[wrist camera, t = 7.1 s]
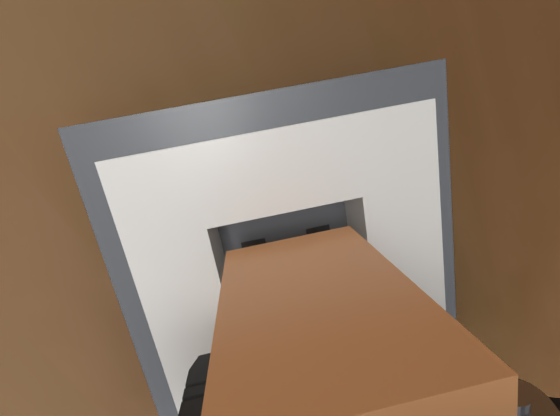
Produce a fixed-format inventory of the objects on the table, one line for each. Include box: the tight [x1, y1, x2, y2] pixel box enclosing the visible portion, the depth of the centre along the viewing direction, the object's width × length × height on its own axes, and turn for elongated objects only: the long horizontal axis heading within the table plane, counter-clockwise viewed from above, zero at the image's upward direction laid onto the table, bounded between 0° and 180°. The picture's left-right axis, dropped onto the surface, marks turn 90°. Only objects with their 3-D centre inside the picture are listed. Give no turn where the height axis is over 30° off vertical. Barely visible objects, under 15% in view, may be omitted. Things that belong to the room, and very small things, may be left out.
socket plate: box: [57, 59, 456, 416], centre depth 14 cm, size 16×16×4 cm
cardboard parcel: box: [201, 226, 518, 416], centre depth 9 cm, size 4×6×8 cm
